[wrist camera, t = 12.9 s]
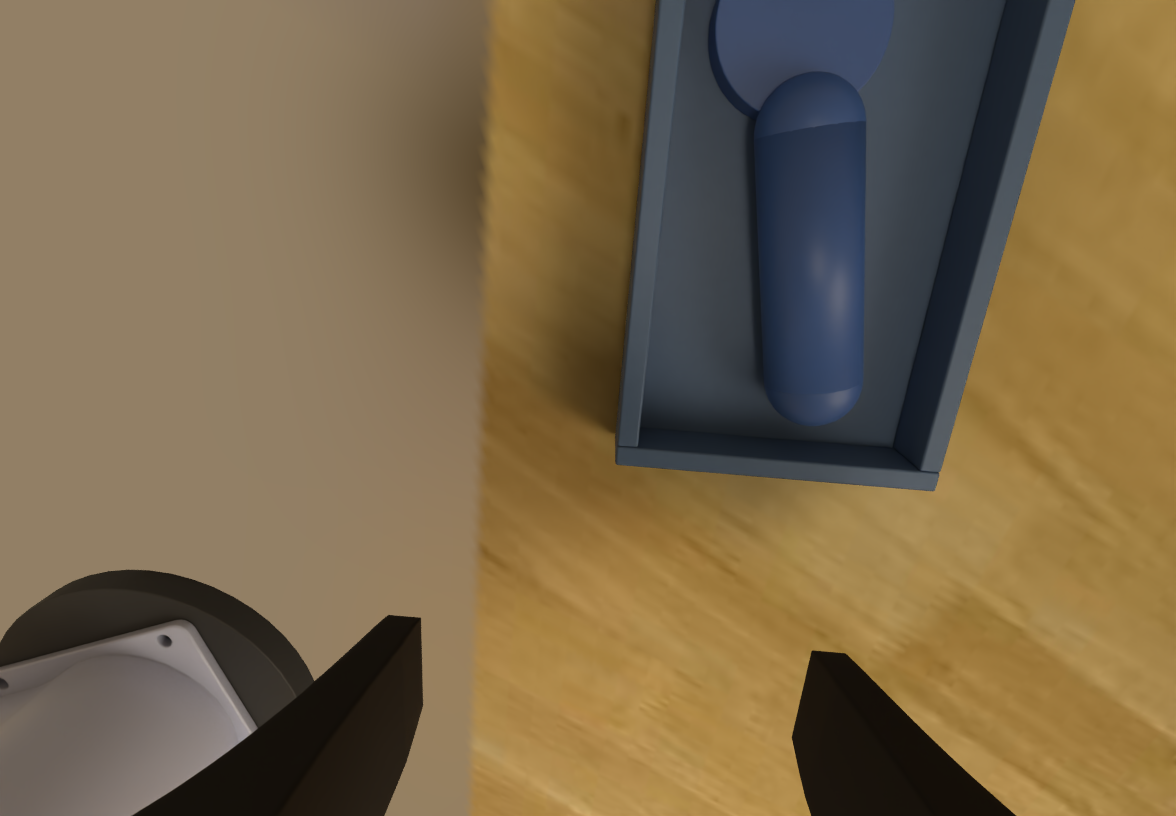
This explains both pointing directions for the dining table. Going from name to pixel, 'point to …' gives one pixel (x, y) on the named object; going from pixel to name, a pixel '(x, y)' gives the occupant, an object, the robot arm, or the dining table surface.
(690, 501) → the dining table surface
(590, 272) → the dining table surface
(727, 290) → the tray
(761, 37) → the blue spoon
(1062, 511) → the dining table surface
